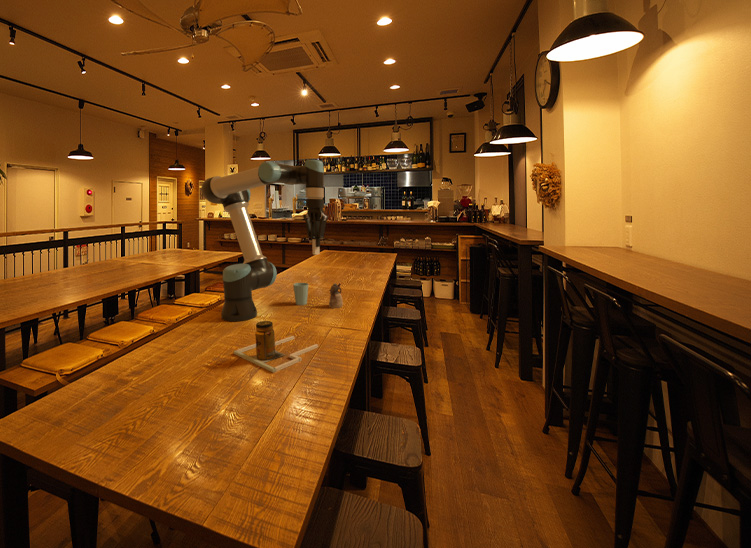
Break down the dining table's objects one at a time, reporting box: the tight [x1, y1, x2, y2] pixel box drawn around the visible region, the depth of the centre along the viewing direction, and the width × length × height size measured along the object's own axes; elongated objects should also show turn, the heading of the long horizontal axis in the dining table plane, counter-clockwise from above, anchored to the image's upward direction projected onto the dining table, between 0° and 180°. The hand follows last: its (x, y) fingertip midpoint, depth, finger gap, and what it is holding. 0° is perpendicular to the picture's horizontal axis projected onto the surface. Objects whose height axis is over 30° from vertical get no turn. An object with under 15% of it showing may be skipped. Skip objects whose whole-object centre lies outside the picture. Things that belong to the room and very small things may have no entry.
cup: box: [292, 282, 309, 306], centre depth 181 cm, size 8×8×10 cm
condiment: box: [251, 320, 286, 364], centre depth 117 cm, size 7×8×12 cm
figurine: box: [328, 282, 344, 309], centre depth 177 cm, size 7×7×12 cm
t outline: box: [233, 335, 319, 374], centre depth 121 cm, size 22×22×1 cm
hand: (316, 254), depth 152 cm, fingers closed
